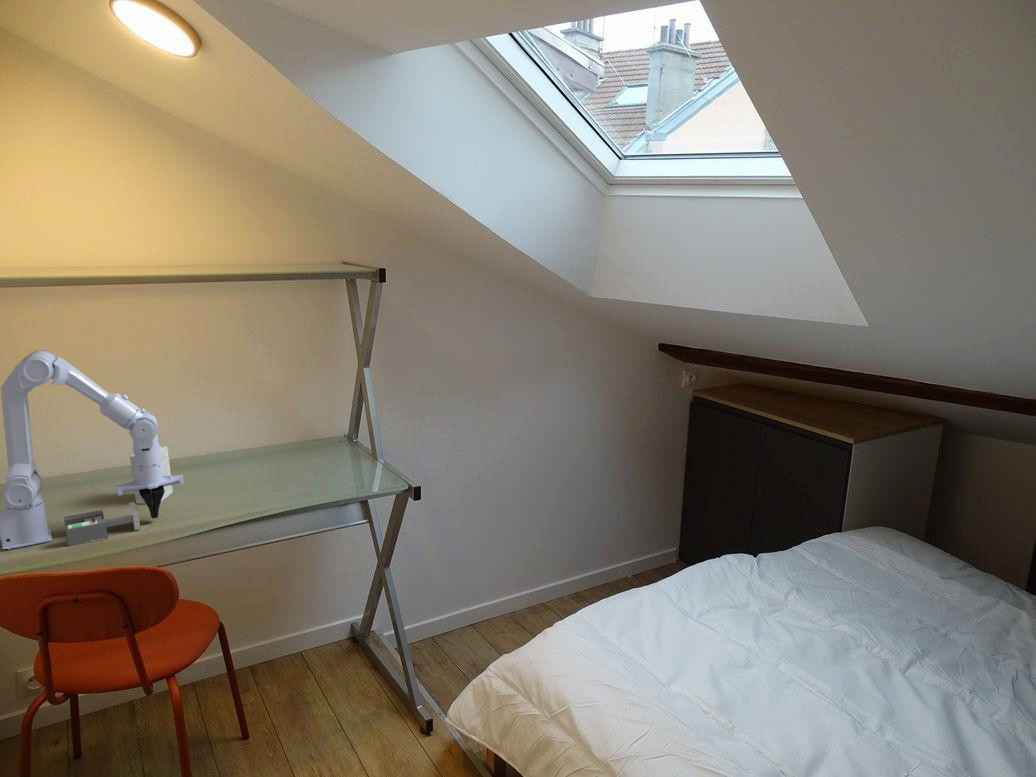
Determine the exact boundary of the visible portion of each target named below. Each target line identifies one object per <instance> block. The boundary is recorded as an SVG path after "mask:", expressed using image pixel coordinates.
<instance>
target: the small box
mask: <svg viewBox="0 0 1036 777" xmlns="http://www.w3.org/2000/svg"><path fill="white" fill-rule="evenodd" d="M168 448H169V447H168V446H160V455H161V464H162V472H163V476H172V475H171V466H170V457H169V450H168ZM129 458H130V467H131V468H130V469H131V476H132V480H133V481H136V480H137V477H136V469H135V461H134V453H133V454H131V455H130V456H129ZM133 481H132V482H133ZM150 490H151V489H150ZM164 490H165V492H164V495H163V497H162V500H161V502H163V501H164V500H165V499H166V498H167V497H169V496H170V495H171V494H173V492H174V491H173V485H170V486H164ZM151 493H152V492H151ZM134 495H135V504H138V505H139V504H146V503H145V501H144V500H143V498H142V497H141V495H140V493H139V491H136V492H134Z"/></svg>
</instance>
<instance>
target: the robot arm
mask: <svg viewBox="0 0 1036 777" xmlns="http://www.w3.org/2000/svg"><path fill="white" fill-rule="evenodd" d="M50 380H52V381H51V385H54V386H55V385H56V386H58V385H60V386H68V387H69V388H71V389H73V390H75V391H77V392H78V393H80V394H81V395H83V396H85V397H86V398H87V399H89V400H90V401H93V402H94V403H96V404H97V405H98V406H99V412H100V413H101V414H102V415H104V416H105V417H107V418H108V419H109V420H111V421H113V423H115V424H117V425H118V426H120V427H121V428H122V429H124V430H128V434H129V436H130V437H131V439H132V443H133V444H132V445H133V446H132V451H133V454H134V461H135V469H136V477H137V480H136V481H130V482H127V483H122V484H118V485H116V486H115V487H116V493H117V496H122V495H124V494H129V493H135V492H136V491H139V493H140V495H141V497H142V498H143V500H144V501H145V503H144V504H145V505H146V506H147V508H148V511H149V515H150V517H151V519H158V518H159V511H160V506H161V500H162V497H163V495H164V492H165V490H164V486H170V485H172V486H175V485H184V484H185V481H184V480H185V479H184V475H183V474H174V475H171V476H163V472H162V464H161V455H160V447H161V446H160V443H159V436H158V425H159V424H158V420H157V418H156V416H155V415H153V413H152V412H149V411H147V410H146V409H145V408H143V407H142V408H139V407H138V406H137V405H136V404H134V403H133V402H131V401H129V396H127V395H126V394H123V395H121V394H120V393H118V392H115V393H109V392H108V391H106V390H105V389H104V388H102V387H101V386H100V385H98V384H97V383H96V382H94V381H93V380H92V379H90V378H89V377H88V376H86V375H85V374H84V373H82V372H81V371H80V370H79V369H78V368H76V367H74V365H72V364H70V363H69V362H68V361H67V360H65V359H64V358H62V357H57V355H56V354H55V353H54V352H52V351H50V350H47V349H37V350H35V351H32V352H31V353H29V354H28V355H26V356H25V357H23V359H21V360H20V361H19V363H18V364H16V365H14V367H13V369H12V371H11V372H10V374H9V375H8V377H7V378H6V379H5V381H4V382H3V384H2V385H1V388H0V396H1V397H0V398H1V406H2V407H1V410H2V416H3V417H2V418H3V429H4V436H5V437H4V439H5V445H6V446H5V447H6V448H5V449H6V457H7V471H6V486H5V488H4V489H3V492H2V498H3V501H4V502H5V503H6V504H5V505H4V506H1V507H0V543H1V546H2V548H1V549H2V550H3V549H8V550H13V549H18V548H23V547H27V546H28V547H29V546H32V545H34V546H35V545H38V544H43V543H44V544H45V543H48V542H49V543H50V542H51V541H53V540H52V530H51V527H49V525H48V519H47V517H48V516H47V512H46V511H47V510H46V507H45V499H44V496H42V494H41V493H40V492H39V491H40V490H41V488H43V478H42V477H41V475H40V473H39V472H38V469H37V464H36V462H35V460H34V453H33V452H34V451H33V440H32V430H31V419H30V408H29V406H30V405H29V396H28V394H29V393H30V392H31V391H32V390H33V389H35V388H37V387H39V386H42V385H44V384H45V383H48V382H49V381H50ZM150 489H151V490H150ZM151 492H152V493H151ZM12 548H13V549H12Z"/></svg>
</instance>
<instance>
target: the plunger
mask: <svg viewBox="0 0 1036 777" xmlns="http://www.w3.org/2000/svg"><path fill="white" fill-rule="evenodd" d="M128 506H129V513H130V515H126V516H120V517H115V518H110V519H105V521H106V527H107V528H109V527H115V526H120V525H125V524H129V523H132V527H133V528H134V531H137V530H138V531H139V530H141V523H140V516H139V515H140V514H139V509H138V508H137V506H136V501H132V502H129V503H128ZM101 519H102V517H101V515H100V516H94V515H91V517H89V518H84V520H85V522H88V521H93V522H96V521H95V520H101Z"/></svg>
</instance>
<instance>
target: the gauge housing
mask: <svg viewBox="0 0 1036 777" xmlns="http://www.w3.org/2000/svg"><path fill="white" fill-rule="evenodd" d="M91 515H94V516H100V515H101V517H102V519H101V520H95V521H96V522H93V521H88V522H85V520H84V518H89V517H91ZM105 520H106V518H105V517H104V512H103V509H100V510H99V509H98V510H93V511H89V512H83V513H78V514H72V515H68V516H67V515H66V516H63V521H64V527H65V534H66V540H67V546H69V547H72V546H71V545H74V546H76V545H75V544H78V545H80V544H79V543H83V542H87V541H91V540H97V539H102V538H107V537H108V538H109V536H108V527H106V521H105ZM83 544H84V543H83Z"/></svg>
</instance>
